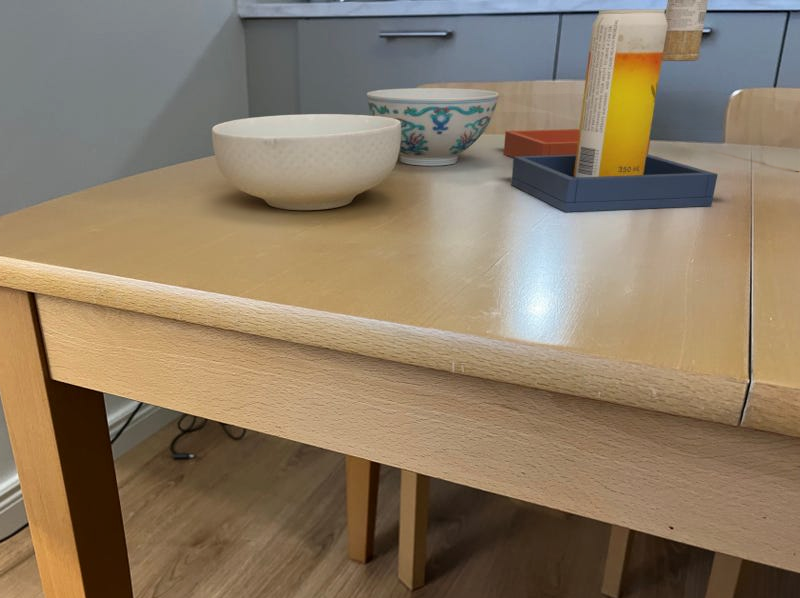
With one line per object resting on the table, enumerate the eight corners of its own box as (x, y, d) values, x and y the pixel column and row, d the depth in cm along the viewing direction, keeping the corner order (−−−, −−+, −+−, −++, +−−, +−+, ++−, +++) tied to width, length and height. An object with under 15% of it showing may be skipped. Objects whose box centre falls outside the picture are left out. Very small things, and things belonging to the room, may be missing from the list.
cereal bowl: (292, 178, 80) (290, 109, 77) (431, 195, 71) (435, 117, 68) (177, 207, 67) (170, 125, 65) (329, 232, 59) (329, 139, 56)
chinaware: (414, 177, 80) (417, 100, 77) (342, 158, 92) (342, 91, 89) (520, 164, 87) (527, 94, 84) (440, 148, 99) (443, 86, 96)
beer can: (654, 187, 70) (684, 9, 64) (613, 195, 67) (641, 9, 61) (599, 177, 74) (622, 11, 68) (558, 184, 71) (579, 10, 65)
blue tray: (637, 180, 77) (641, 152, 76) (711, 206, 66) (718, 173, 65) (510, 184, 76) (513, 156, 75) (564, 212, 64) (569, 179, 63)
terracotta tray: (598, 150, 96) (601, 128, 95) (646, 165, 85) (650, 140, 84) (503, 154, 94) (505, 130, 93) (540, 169, 84) (543, 143, 83)
